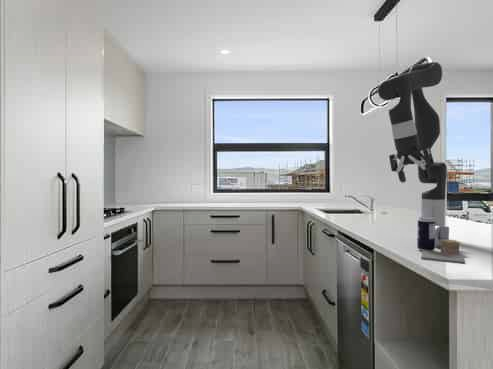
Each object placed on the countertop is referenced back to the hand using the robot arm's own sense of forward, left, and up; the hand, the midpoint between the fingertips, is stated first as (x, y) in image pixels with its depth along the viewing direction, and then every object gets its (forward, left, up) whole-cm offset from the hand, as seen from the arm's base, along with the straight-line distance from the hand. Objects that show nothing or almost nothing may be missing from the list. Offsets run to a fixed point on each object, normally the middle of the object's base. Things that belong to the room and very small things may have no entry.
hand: (415, 181), depth 123 cm
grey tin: (-18, +9, -25) cm, 32 cm away
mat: (+1, +9, -25) cm, 27 cm away
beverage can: (-9, +4, -26) cm, 27 cm away
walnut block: (-8, +11, -26) cm, 29 cm away
